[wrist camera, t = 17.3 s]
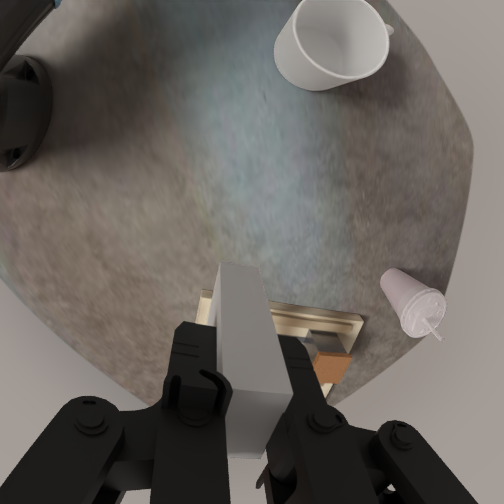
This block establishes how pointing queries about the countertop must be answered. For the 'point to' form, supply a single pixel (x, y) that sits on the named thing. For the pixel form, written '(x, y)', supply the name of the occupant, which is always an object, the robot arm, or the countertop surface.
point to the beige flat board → (301, 322)
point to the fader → (327, 355)
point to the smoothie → (414, 303)
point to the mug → (331, 43)
